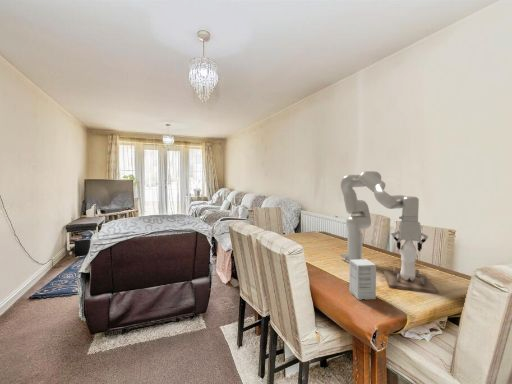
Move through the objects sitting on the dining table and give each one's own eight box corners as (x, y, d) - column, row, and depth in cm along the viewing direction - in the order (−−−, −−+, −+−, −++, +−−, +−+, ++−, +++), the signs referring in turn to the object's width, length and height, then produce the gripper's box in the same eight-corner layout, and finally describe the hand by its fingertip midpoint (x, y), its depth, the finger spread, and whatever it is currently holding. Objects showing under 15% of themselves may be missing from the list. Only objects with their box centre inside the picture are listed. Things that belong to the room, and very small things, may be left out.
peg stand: (389, 287, 134) (389, 277, 133) (383, 272, 154) (383, 263, 154) (438, 293, 126) (438, 283, 126) (425, 277, 147) (425, 267, 146)
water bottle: (397, 276, 144) (398, 233, 142) (409, 276, 144) (410, 233, 143) (405, 282, 136) (407, 236, 135) (418, 281, 137) (419, 236, 136)
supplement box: (376, 299, 121) (377, 265, 120) (357, 300, 120) (358, 265, 119) (365, 290, 130) (366, 258, 129) (348, 291, 130) (349, 259, 129)
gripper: (393, 219, 137) (392, 250, 138) (430, 221, 132) (429, 253, 133) (391, 217, 144) (390, 246, 146) (426, 218, 139) (425, 249, 140)
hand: (409, 249), depth 139 cm, fingers open, 9 cm apart
